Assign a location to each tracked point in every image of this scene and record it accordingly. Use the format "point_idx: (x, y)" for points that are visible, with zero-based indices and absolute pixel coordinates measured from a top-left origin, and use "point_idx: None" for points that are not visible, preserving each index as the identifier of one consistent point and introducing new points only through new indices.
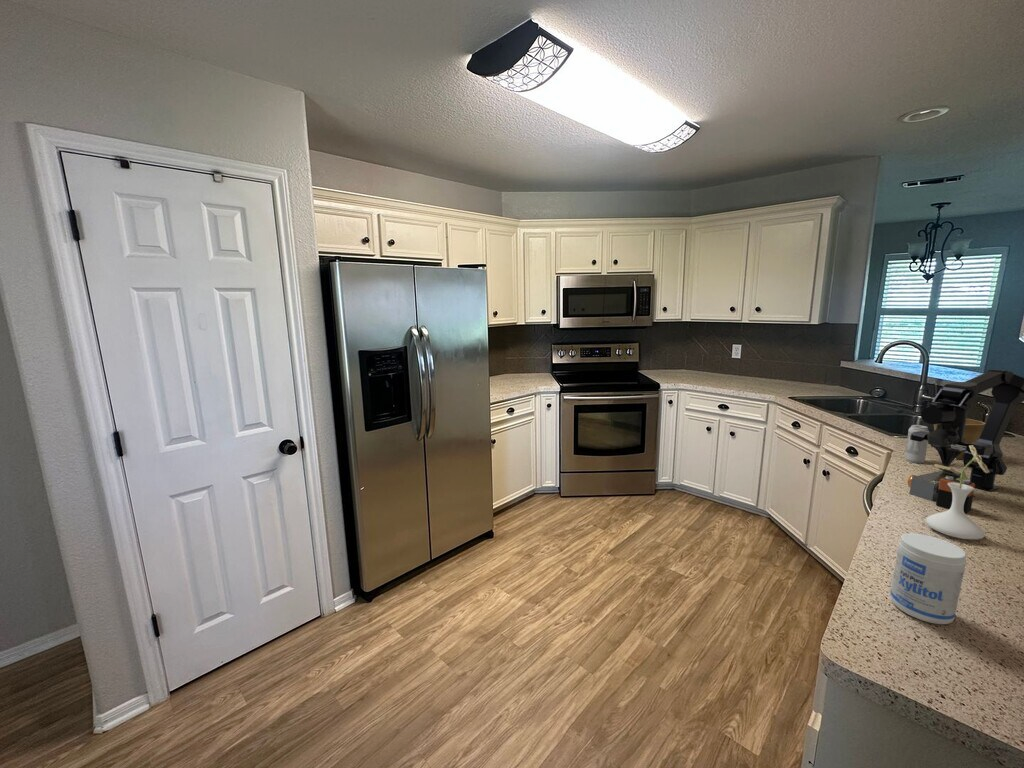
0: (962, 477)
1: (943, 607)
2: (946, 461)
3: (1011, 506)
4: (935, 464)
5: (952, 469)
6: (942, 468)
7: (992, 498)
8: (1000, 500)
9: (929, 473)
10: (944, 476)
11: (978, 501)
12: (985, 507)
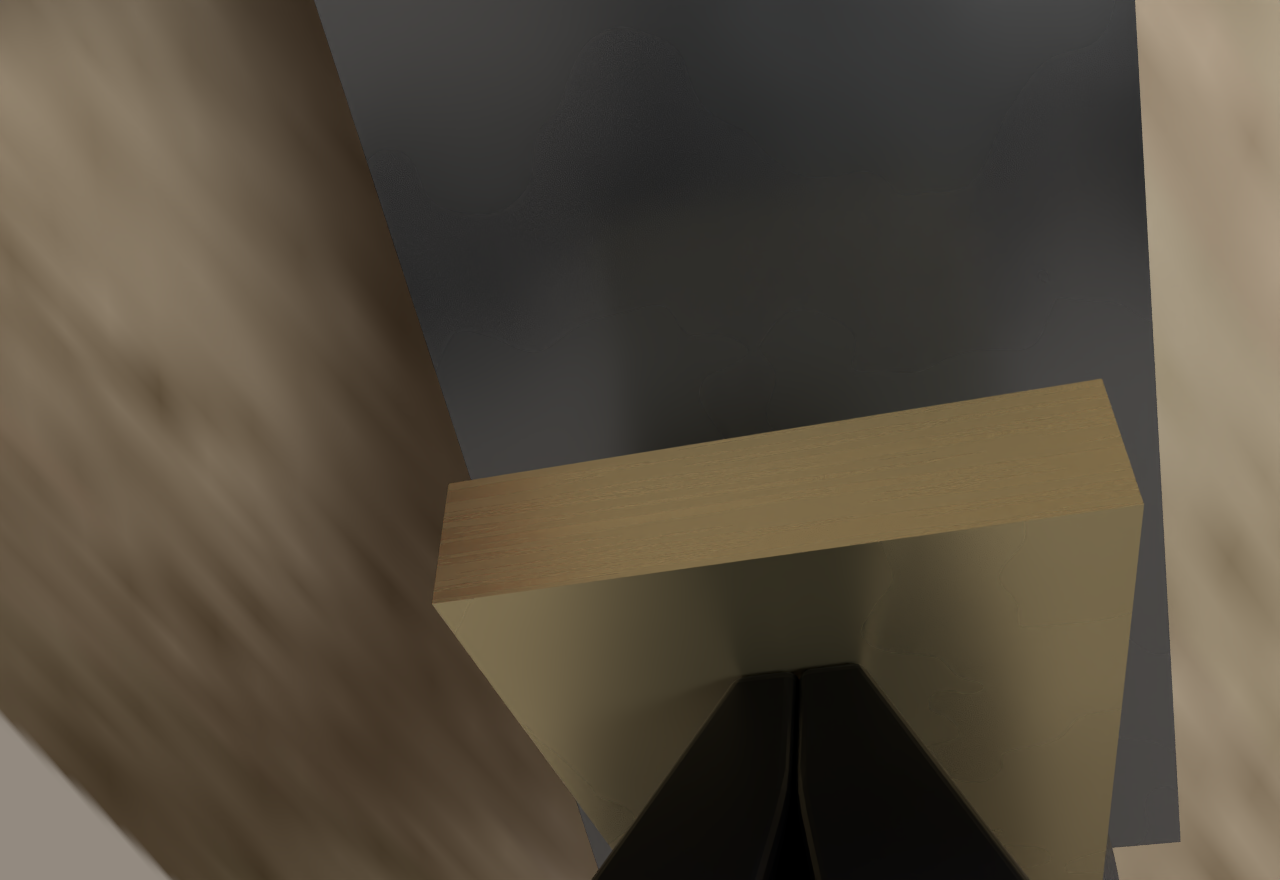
0: (590, 833)
1: None
2: (695, 869)
3: (102, 769)
4: (1107, 482)
5: (515, 688)
6: (742, 454)
7: (415, 848)
8: (334, 868)
9: (1129, 207)
10: (730, 415)
11: (293, 502)
12: (11, 314)
